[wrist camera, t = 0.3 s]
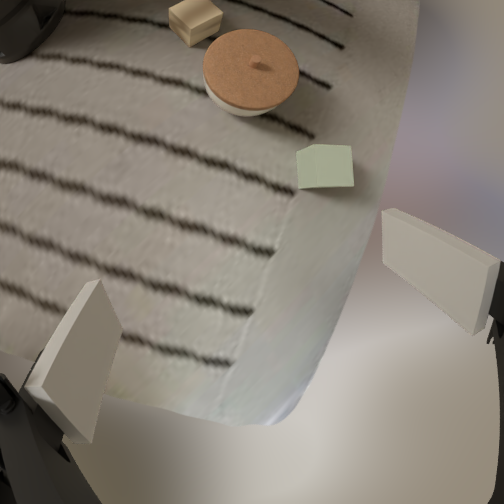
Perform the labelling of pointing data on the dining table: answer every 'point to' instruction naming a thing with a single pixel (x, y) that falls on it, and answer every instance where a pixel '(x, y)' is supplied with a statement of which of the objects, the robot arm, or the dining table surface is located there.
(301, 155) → the sage block
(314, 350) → the dining table surface
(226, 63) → the lidded jar
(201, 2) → the beech block
